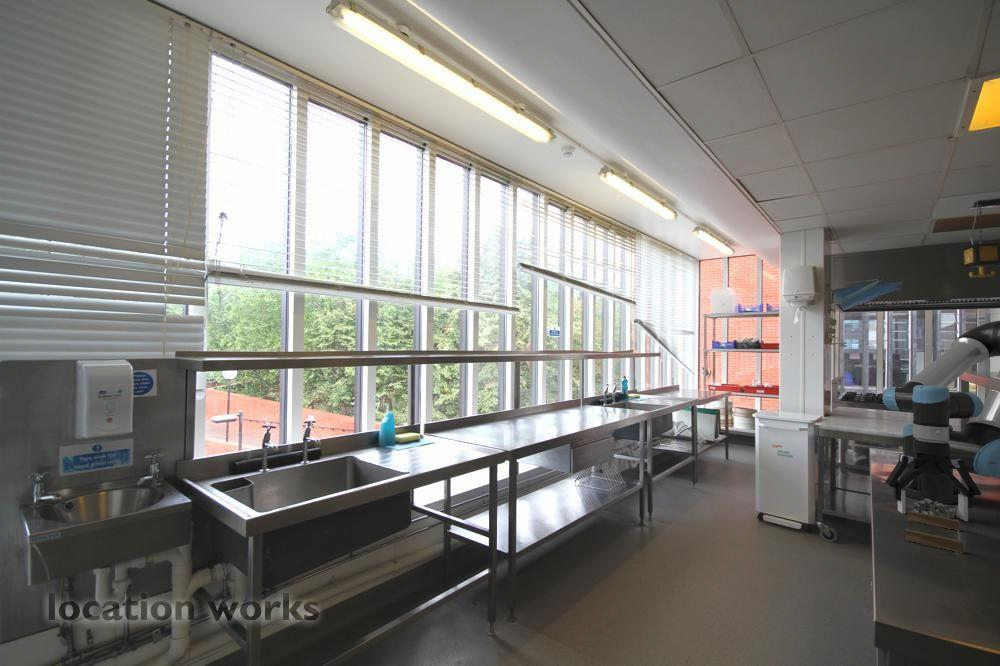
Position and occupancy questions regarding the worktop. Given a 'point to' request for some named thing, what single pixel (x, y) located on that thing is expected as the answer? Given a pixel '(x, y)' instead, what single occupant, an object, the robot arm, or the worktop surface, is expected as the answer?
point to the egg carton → (932, 508)
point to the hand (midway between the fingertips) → (931, 516)
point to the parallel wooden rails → (933, 539)
